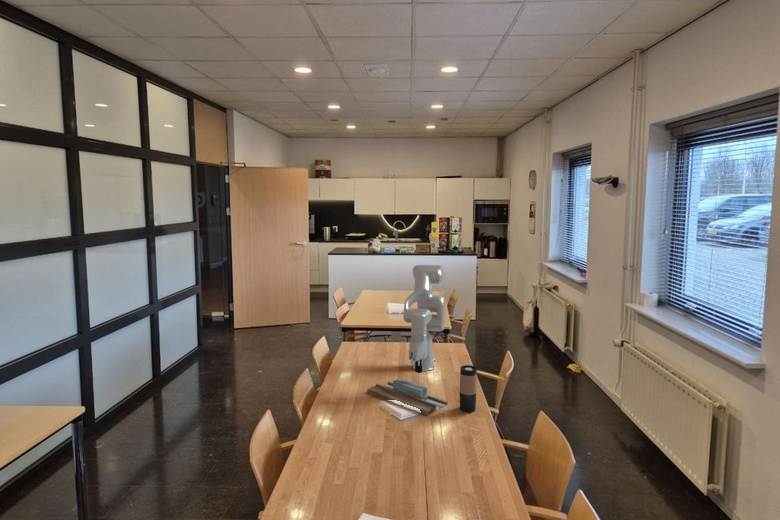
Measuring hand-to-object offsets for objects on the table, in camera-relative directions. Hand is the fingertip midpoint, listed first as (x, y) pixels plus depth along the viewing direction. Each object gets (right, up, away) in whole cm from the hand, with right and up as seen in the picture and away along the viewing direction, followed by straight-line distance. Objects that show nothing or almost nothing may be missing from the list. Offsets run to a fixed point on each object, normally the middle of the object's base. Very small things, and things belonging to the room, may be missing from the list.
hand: (418, 372), depth 241 cm
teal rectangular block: (-5, -11, -4) cm, 12 cm away
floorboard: (-6, -11, -6) cm, 15 cm away
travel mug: (+22, -13, -18) cm, 31 cm away
